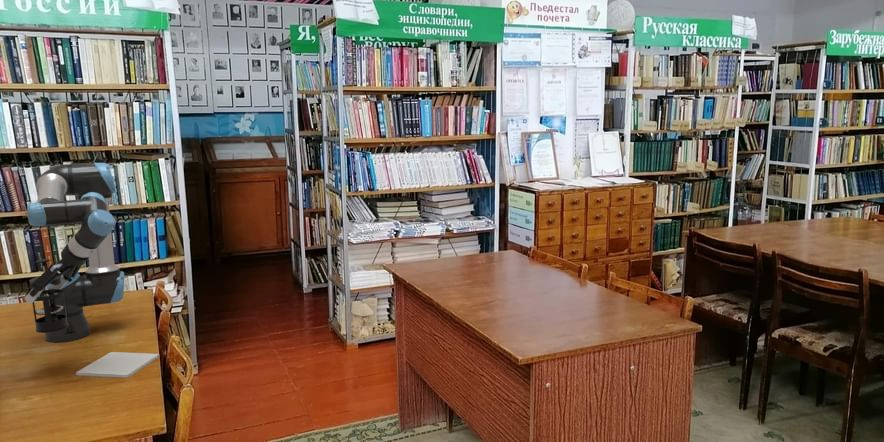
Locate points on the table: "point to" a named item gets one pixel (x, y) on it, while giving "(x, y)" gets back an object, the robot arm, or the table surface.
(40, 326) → the french press
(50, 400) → the table surface
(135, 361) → the white square mat
